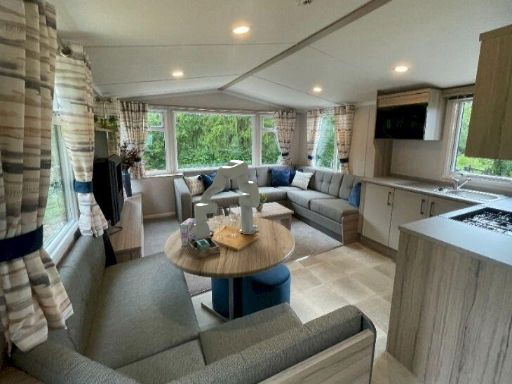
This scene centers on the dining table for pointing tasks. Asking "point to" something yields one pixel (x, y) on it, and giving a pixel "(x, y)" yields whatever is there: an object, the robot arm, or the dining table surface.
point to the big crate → (208, 252)
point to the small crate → (202, 245)
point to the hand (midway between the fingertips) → (203, 245)
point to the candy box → (187, 230)
